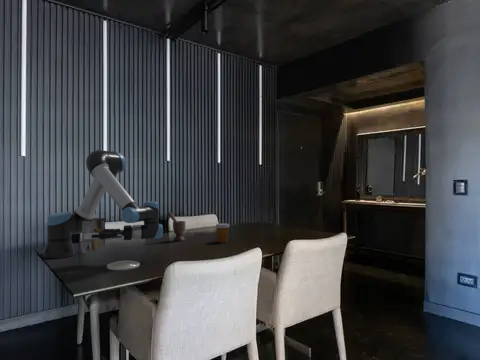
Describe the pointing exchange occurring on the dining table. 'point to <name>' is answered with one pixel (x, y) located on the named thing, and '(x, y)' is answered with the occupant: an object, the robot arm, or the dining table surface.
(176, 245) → the dining table surface
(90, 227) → the coffee box
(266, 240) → the dining table surface
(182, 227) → the mortar and pestle
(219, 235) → the disposable coffee cup
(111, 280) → the dining table surface
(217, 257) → the dining table surface
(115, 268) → the plate
